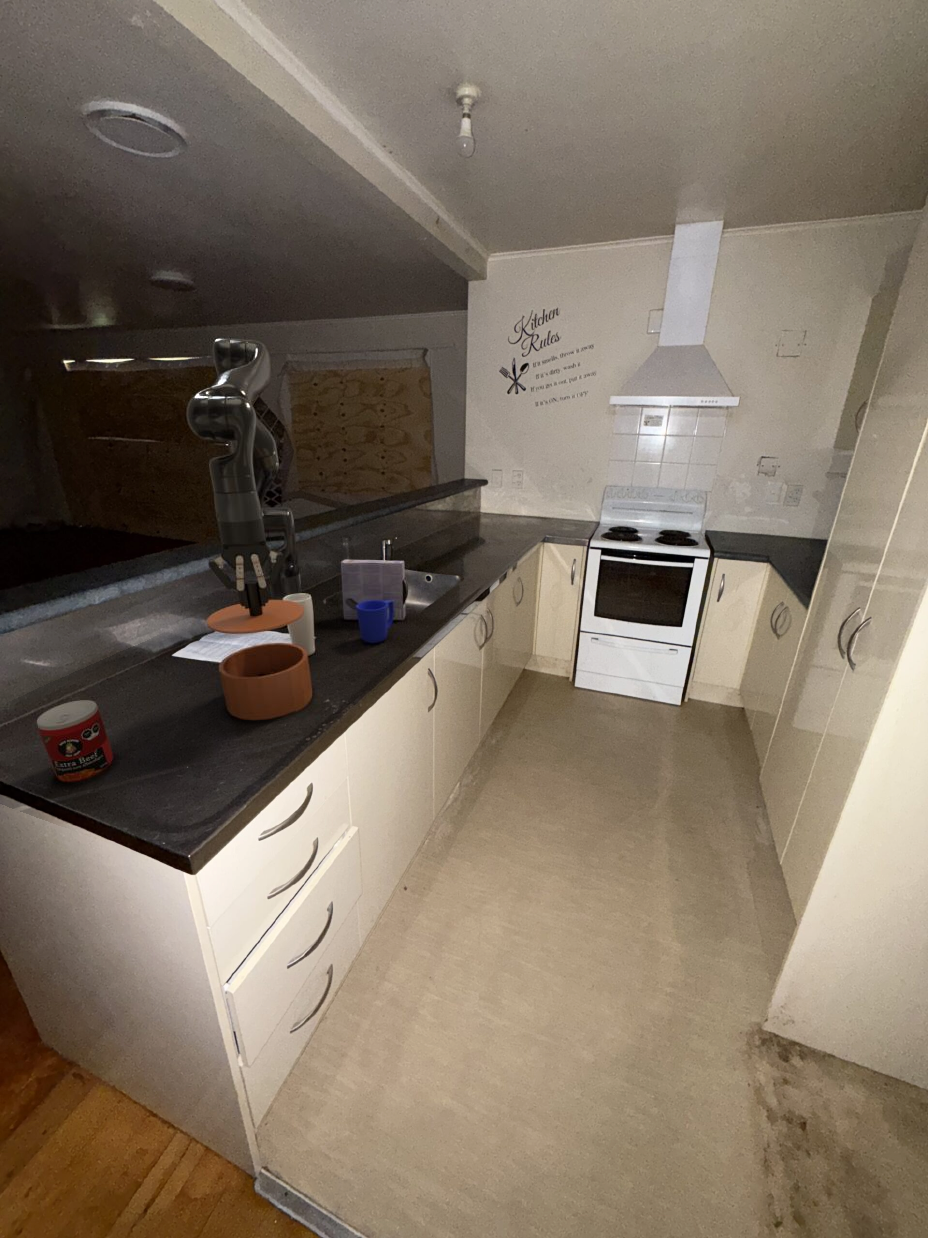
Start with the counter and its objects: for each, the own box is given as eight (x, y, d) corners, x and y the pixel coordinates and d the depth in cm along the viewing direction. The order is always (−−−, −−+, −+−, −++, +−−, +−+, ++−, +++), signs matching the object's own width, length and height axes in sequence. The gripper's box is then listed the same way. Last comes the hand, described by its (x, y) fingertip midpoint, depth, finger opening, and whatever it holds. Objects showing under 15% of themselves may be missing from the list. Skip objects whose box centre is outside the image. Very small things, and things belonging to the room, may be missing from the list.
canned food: (52, 791, 76) (29, 731, 72) (63, 762, 82) (43, 706, 78) (111, 776, 79) (92, 718, 75) (117, 749, 86) (100, 695, 82)
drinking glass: (322, 648, 126) (315, 593, 121) (312, 659, 120) (304, 602, 114) (297, 647, 127) (289, 592, 121) (286, 658, 120) (277, 601, 115)
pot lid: (207, 612, 99) (200, 576, 96) (297, 599, 106) (292, 566, 103) (207, 644, 84) (198, 602, 81) (311, 626, 91) (306, 588, 88)
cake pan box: (409, 615, 149) (407, 558, 142) (407, 621, 144) (404, 563, 138) (347, 614, 149) (342, 558, 143) (343, 620, 144) (337, 563, 138)
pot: (226, 691, 105) (218, 651, 102) (305, 675, 112) (300, 637, 108) (229, 730, 91) (219, 686, 88) (318, 709, 98) (313, 667, 94)
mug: (405, 633, 135) (403, 599, 132) (375, 648, 126) (372, 612, 122) (382, 627, 139) (380, 594, 136) (352, 641, 130) (349, 606, 126)
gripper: (277, 511, 94) (289, 595, 100) (197, 516, 88) (215, 606, 94) (282, 516, 87) (295, 606, 94) (196, 522, 82) (215, 618, 88)
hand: (254, 606), depth 94 cm, fingers closed on pot lid, 2 cm apart
